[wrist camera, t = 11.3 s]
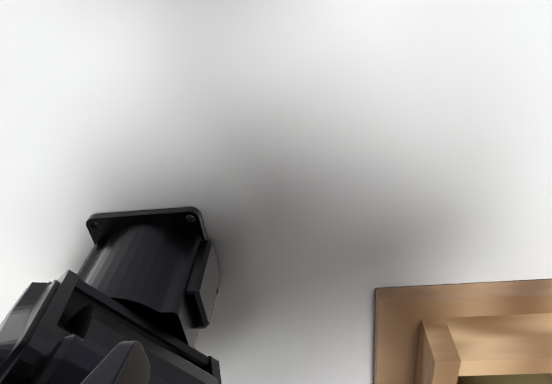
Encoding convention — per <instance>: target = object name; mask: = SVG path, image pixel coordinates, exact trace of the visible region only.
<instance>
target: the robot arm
mask: <svg viewBox="0 0 552 384" xmlns="http://www.w3.org/2000/svg"><path fill="white" fill-rule="evenodd" d="M188 215H192V216H193V217H194V218H190V217H188ZM94 222H96V223H98V224H99V225H97V224H95V223H94ZM86 226H87V228H88V230H89V233H90V235H91V237H92V239H93V242H94V244H95V246H94V248H93V249H92V251H91V253H90V254H89V256H88V257H87V259H86V261H85V262H84V264H83V266H82V267H81V269H80V270H79V272H78V274H75V273H74V272H72V271H70V270H67V271H66V272H65V273H64V274H63V275H62V276H61V277H60V278H59V279H58V280H54V281H53V282H49V283H36V282H32V283H31V284H30V285H29V286H28V288H27V289H26V290H25V291H24V293H23V294H22V295H21V297H20V298H19V299H18V301H17V302H16V303H15V305H14V306H13V307H12V309H11V310H10V312H9V313H8V314H7V316H6V317H5V319H4V320H3V322H2V323H1V325H0V384H221V376H220V367H219V361H218V360H216V359H214V358H213V357H211V356H208V357H207V356H206V355H204V354H202V353H201V352H199V351H197V350H196V349H194V348H195V343H196V339H197V335H198V331H199V329H202V328H206V327H207V326H208V325H209V324H210V319H211V315H212V310H213V305H214V301H215V296H216V294H217V293H218V289H219V283H218V282H219V277H220V270H219V266H218V262H217V258H216V254H215V250H214V246H213V243H212V242H211V241H210V240H209V239H207V237H206V233H205V229H204V225H203V222H202V218H201V214H200V212H199V211H198V210H197V209H195V208H192V207H187V208H174V209H160V210H146V211H133V212H119V213H106V214H94V215H91V216H90V217H89V219H88V220H87V222H86Z"/></svg>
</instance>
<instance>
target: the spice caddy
mask: <svg viewBox="0 0 552 384" xmlns="http://www.w3.org/2000/svg"><path fill="white" fill-rule="evenodd" d="M540 373H551V374H552V279H543V280H524V281H505V282H486V283H468V284H449V285H430V286H411V287H392V288H376V300H375V347H374V384H457V380H458V376H480V375H510V374H540Z"/></svg>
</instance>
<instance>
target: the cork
mask: <svg viewBox="0 0 552 384" xmlns="http://www.w3.org/2000/svg"><path fill="white" fill-rule="evenodd" d="M457 384H552V374H551V373H540V374H510V375H480V376H458V380H457Z"/></svg>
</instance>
